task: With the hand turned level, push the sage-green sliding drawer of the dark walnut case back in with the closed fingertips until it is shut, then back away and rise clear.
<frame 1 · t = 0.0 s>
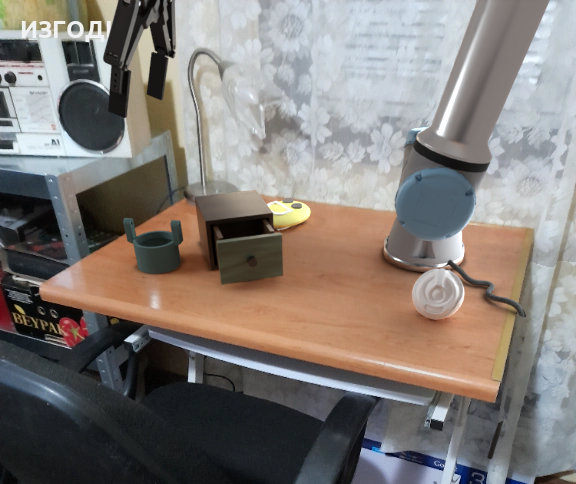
hand: (137, 105, 85), 28 cm above the table, tool tilted 20°, fingers open, 13 cm apart
emoji: (283, 223, 119), on the table
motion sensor: (433, 316, 86), on the table
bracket: (160, 264, 103), on the table
case: (236, 251, 107), on the table
case drawer: (244, 247, 97), point 5 cm above the table, slide at 7.0 cm
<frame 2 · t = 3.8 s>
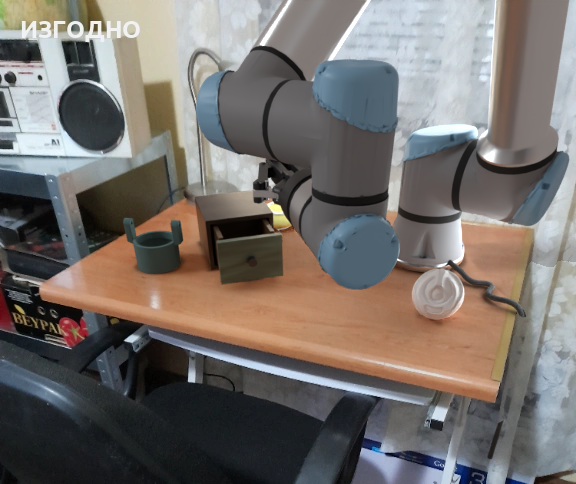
hand: (272, 156, 80), 22 cm above the table, tool horizontal, fingers closed
nothing on the table moved.
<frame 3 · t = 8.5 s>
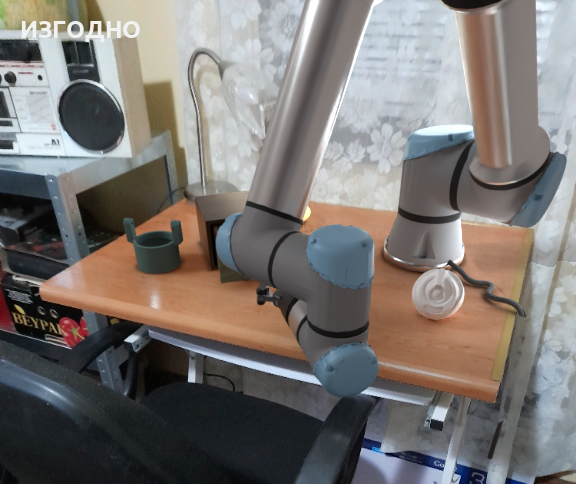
hand: (269, 248, 92), 6 cm above the table, tool horizontal, fingers closed
case drawer: (244, 246, 97), point 5 cm above the table, slide at 6.6 cm, touching gripper
everything else where it was.
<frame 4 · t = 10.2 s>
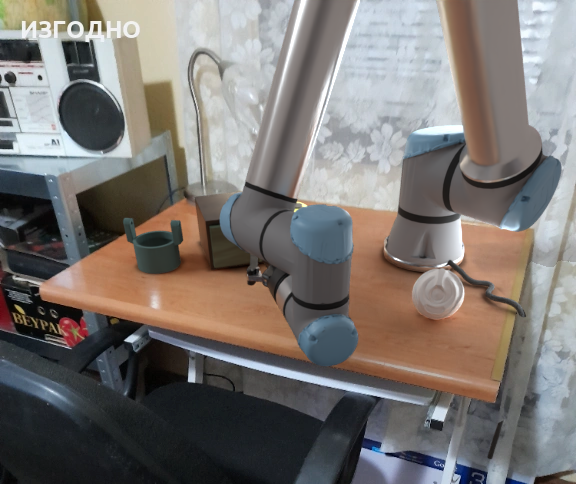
hand: (260, 234, 97), 6 cm above the table, tool horizontal, fingers closed
case drawer: (236, 233, 102), point 5 cm above the table, slide at 0.0 cm, touching case, gripper
everything else where it was.
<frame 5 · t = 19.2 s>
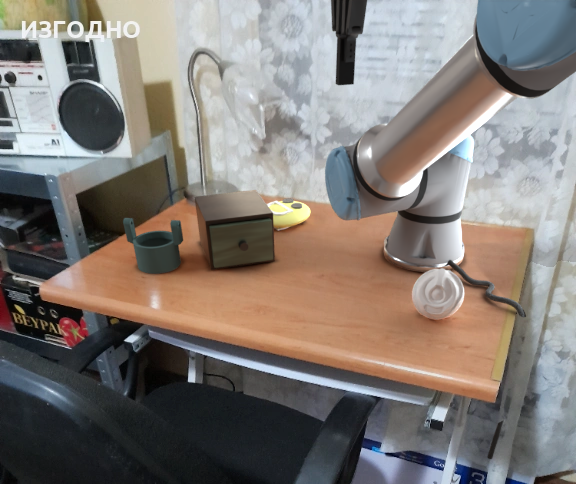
hand: (344, 84, 89), 29 cm above the table, tool pointing down, fingers closed
case drawer: (236, 233, 102), point 5 cm above the table, slide at 0.0 cm, touching case
everything else where it was.
at the end: case drawer slide at 0.0 cm; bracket moved 0.2 cm from its start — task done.
